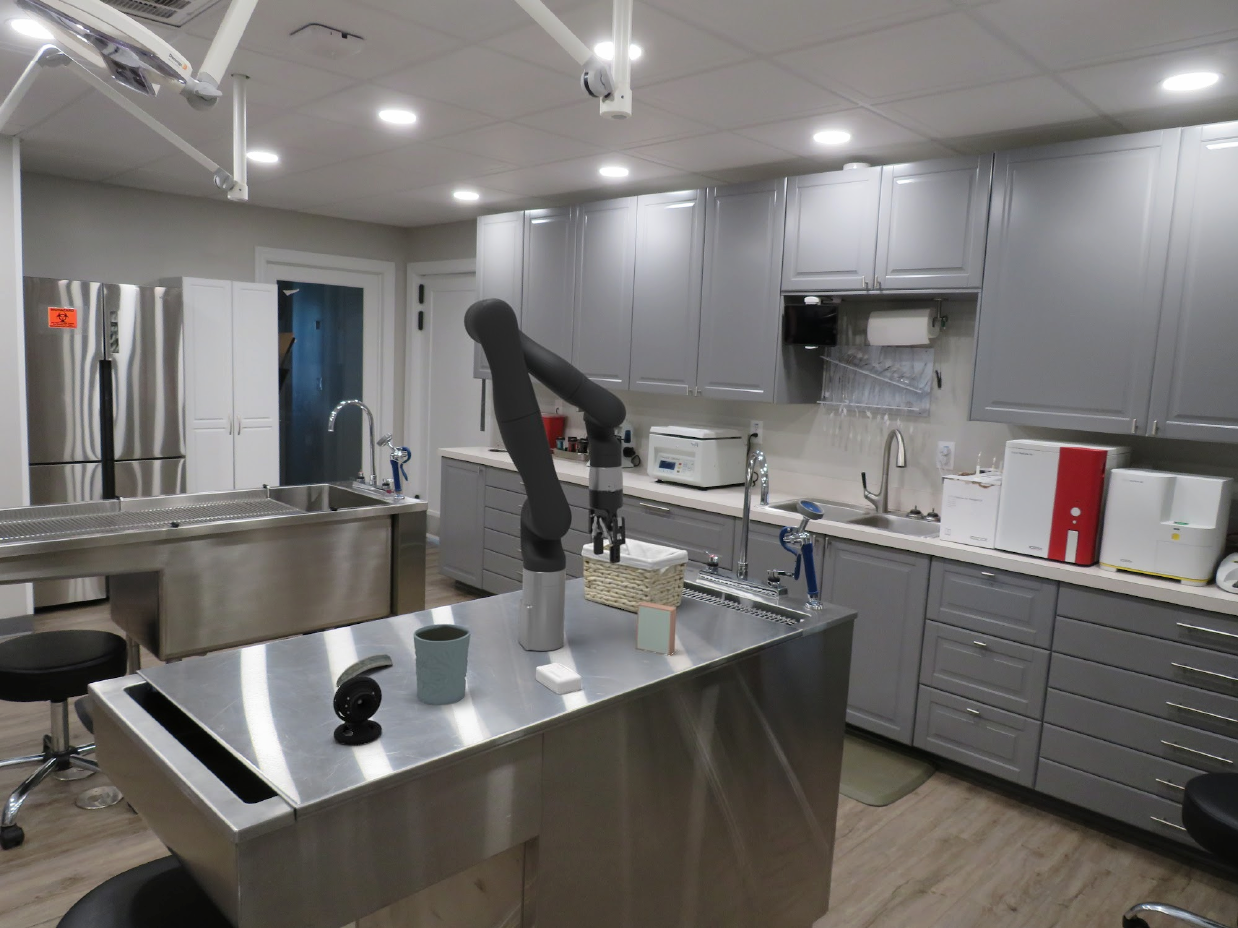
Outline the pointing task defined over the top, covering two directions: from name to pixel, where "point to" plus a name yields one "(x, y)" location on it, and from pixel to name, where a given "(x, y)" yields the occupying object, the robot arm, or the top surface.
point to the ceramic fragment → (364, 666)
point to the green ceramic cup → (441, 663)
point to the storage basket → (634, 575)
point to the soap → (558, 678)
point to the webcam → (357, 710)
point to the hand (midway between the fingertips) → (606, 558)
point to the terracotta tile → (656, 628)
